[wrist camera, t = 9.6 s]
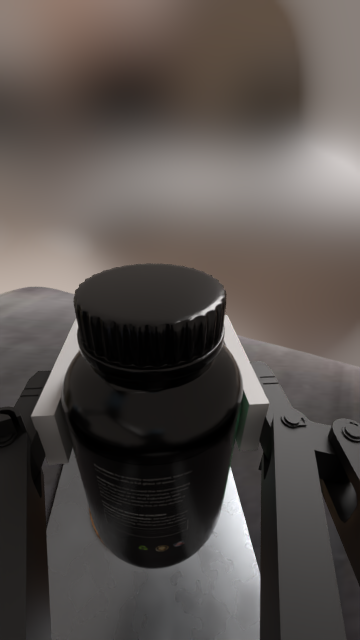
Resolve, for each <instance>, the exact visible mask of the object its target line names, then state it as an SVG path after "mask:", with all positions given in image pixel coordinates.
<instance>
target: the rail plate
mask: <svg viewBox="0 0 360 640" xmlns="http://www.w3.org/2000/svg"><path fill="white" fill-rule="evenodd" d="M46 535H47V555H48V576H49V596H50V616H51V637H52V640H260V573H259V569H258V565H257V562H256V558H255V554H254V551H253V547H252V544H251V540H250V536H249V533H248V529H247V526H246V522H245V518H244V515H243V511H242V508H241V504H240V500H239V497H238V493H237V489H236V486H235V482H234V479H233V475H232V471H231V468H230V470H229V475H228V480H227V485H226V491H225V496H224V501H223V505H222V509H221V513H220V517H219V520H218V522H217V525H216V527H215V529H214V531H213V533H212V535H211V536H210V538H209V539H208V541H207V542H206V543H205V544H204V545H203V547H202V548H201V549H200V550H199V551H197V552H196V553H195V554H194V555H193V556H191V557H190V558H188V559H186V560H185V561H183V562H181V563H179V564H176V565H173V566H170V567H166V568H159V569H147V568H140V567H137V566H133V565H131V564H128V563H126V562H124V561H123V560H121V559H119V558H118V557H117V556H115V555H114V554H113V553H112V552H111V551H110V550H109V549H108V548H107V547H106V545H105V544H104V543H103V541H102V540H101V538H100V536H99V534H98V532H97V530H96V528H95V525H94V522H93V519H92V516H91V512H90V509H89V505H88V501H87V498H86V494H85V490H84V487H83V483H82V479H81V476H80V472H79V469H78V465H77V461H76V458H75V454H74V450H73V448H72V452H71V456H70V459H69V463H66V464H64V465H63V469H62V473H61V476H60V480H59V484H58V488H57V492H56V495H55V499H54V503H53V507H52V511H51V514H50V518H49V522H48V526H47V530H46Z"/></svg>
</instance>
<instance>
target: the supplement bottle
mask: <svg viewBox="0 0 360 640" xmlns="http://www.w3.org/2000/svg"><path fill="white" fill-rule="evenodd" d="M74 307H75V313H76V318H77V323H78V330H77V341H78V345H79V349H80V350H79V351H78V352H77V354H76V355H75V356H74V358H73V359H72V361H71V363H70V365H69V366H68V368H67V371H66V373H65V376H64V379H63V383H62V390H61V403H62V408H63V413H64V417H65V421H66V425H67V428H68V432H69V436H70V439H71V443H72V447H73V450H74V454H75V458H76V461H77V465H78V469H79V472H80V476H81V479H82V483H83V487H84V490H85V494H86V498H87V501H88V505H89V509H90V512H91V516H92V519H93V522H94V525H95V528H96V530H97V532H98V534H99V536H100V538H101V540H102V541H103V543H104V544H105V545H106V547H107V548H108V549H109V550H110V551H111V552H112V553H113V554H114V555H115V556H117V557H118V558H119V559H121V560H123V561H124V562H126V563H128V564H131V565H133V566H137V567H140V568H147V569H159V568H166V567H170V566H173V565H176V564H179V563H181V562H183V561H185V560H186V559H188V558H190V557H191V556H193V555H194V554H195V553H196V552H197V551H199V550H200V549H201V548H202V547H203V545H204V544H205V543H206V542H207V541H208V539H209V538H210V536H211V535H212V533H213V531H214V529H215V527H216V525H217V522H218V520H219V517H220V513H221V509H222V505H223V501H224V496H225V491H226V485H227V480H228V475H229V470H230V464H231V459H232V454H233V449H234V443H235V438H236V433H237V428H238V423H239V417H240V412H241V406H242V398H243V380H242V375H241V371H240V369H239V366H238V364H237V362H236V360H235V358H234V356H233V355H232V353H231V352H230V351H229V349H228V348H227V347H226V346H225V345H224V344H223V342H224V334H225V327H224V318H225V309H226V291H225V290H224V287H223V285H222V284H220V283H219V281H218V280H217V279H215V278H213V277H212V275H209V274H206V273H204V272H203V271H199V270H196V269H194V268H188V267H184V266H176V265H170V264H136V265H127V266H122V267H116V268H112V269H110V270H105V271H103V272H101V273H98V274H95V275H93V276H92V277H90V278H88V279H86V280H85V282H83V283H81V284H80V285H79V288H78V289H76V290H75V296H74Z"/></svg>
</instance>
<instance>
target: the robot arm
mask: <svg viewBox="0 0 360 640" xmlns="http://www.w3.org/2000/svg"><path fill="white" fill-rule="evenodd" d="M224 327H225V334H224V342H223V344H224V345H225V346H226V347H227V348H228V349H229V351H230V352H231V353H232V355H233V356H234V358H235V360H236V362H237V364H238V366H239V369H240V371H241V375H242V380H243V398H242V406H241V412H240V417H239V423H238V428H237V433H236V441H237V444H238V448H239V451H251V450H258V446H259V442H260V443H261V446H262V449H263V455H262V459H261V462H260V466H259V470H262V474H261V568H260V640H347V639H346V633H345V627H344V621H343V616H342V610H341V604H340V598H339V592H338V586H337V580H336V574H335V569H334V563H333V557H332V551H331V545H330V539H329V533H328V528H327V522H326V516H325V510H324V504H323V498H322V494H323V497H324V499H325V502H326V504H327V506H328V509H329V511H330V514H331V516H332V519H333V521H334V524H335V526H336V529H337V531H338V534H339V536H340V539H341V541H342V544H343V546H344V548H345V551H346V553H347V556H348V558H349V561H350V563H351V566H352V568H353V571H354V573H355V576H356V578H357V581H358V583H359V586H360V424H359V423H357V422H355V421H353V420H350V419H344V418H342V419H337V420H336V421H334V422H333V424H332V426H329V425H325V424H320V423H315V422H312V421H309V420H308V419H307V418H306V416H305V415H304V414H303V413H301V412H300V411H298V410H296V409H293V407H292V405H291V404H290V402H289V400H288V398H287V397H286V395H285V393H284V391H283V389H282V388H281V386H280V384H279V383H278V381H277V379H276V378H275V375H274V374H273V372H272V370H271V368H270V367H269V366H267V365H266V364H265V363H264V362H263V361H259V362H249V360H248V357H247V355H246V353H245V351H244V349H243V347H242V345H241V343H240V341H239V339H238V337H237V335H236V333H235V330H234V328H233V326H232V324H231V322H230V320H229V318H228V316H227V315H225V318H224ZM77 330H78V323H77V319H76V320H75V322H74V324H73V326H72V328H71V331H70V333H69V335H68V337H67V339H66V341H65V344H64V346H63V348H62V350H61V352H60V354H59V356H58V359H57V361H56V363H55V365H54V367H53V369H52V371H38V372H37V373H36V374H35V375H33V376H32V377H31V378H30V379H29V381H28V382H27V384H26V386H25V388H24V390H23V392H22V393H21V395H20V397H19V399H18V401H17V403H16V404H15V406H14V407H2V408H0V640H52V637H51V616H50V596H49V576H48V555H47V535H46V514H45V494H44V474H43V471H42V468H41V467H42V464H43V461H44V458H45V457H46V460H47V463H48V465H52V464H66V463H69V459H70V456H71V452H72V448H73V447H72V443H71V439H70V436H69V432H68V428H67V425H66V421H65V417H64V413H63V408H62V403H61V390H62V383H63V379H64V376H65V373H66V371H67V368H68V366H69V365H70V363H71V361H72V359H73V358H74V356H75V355H76V354H77V352H78V351H79V350H80V349H79V345H78V341H77Z"/></svg>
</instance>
